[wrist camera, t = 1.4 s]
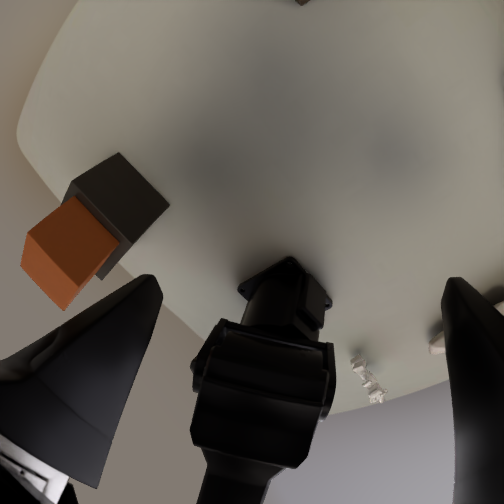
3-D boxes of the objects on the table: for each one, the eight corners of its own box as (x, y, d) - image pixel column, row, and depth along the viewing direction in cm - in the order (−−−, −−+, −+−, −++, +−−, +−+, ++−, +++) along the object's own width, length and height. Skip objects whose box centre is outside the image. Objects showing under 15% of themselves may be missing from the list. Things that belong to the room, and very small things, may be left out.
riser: (135, 242, 27) (101, 281, 23) (90, 196, 25) (51, 228, 21) (170, 205, 24) (132, 244, 19) (118, 151, 22) (71, 180, 17)
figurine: (426, 295, 28) (452, 339, 28) (343, 358, 31) (374, 397, 31) (441, 305, 24) (467, 354, 23) (345, 377, 27) (379, 418, 26)
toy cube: (97, 271, 22) (63, 311, 18) (58, 230, 21) (19, 266, 17) (120, 242, 19) (78, 288, 15) (74, 194, 18) (26, 232, 14)
